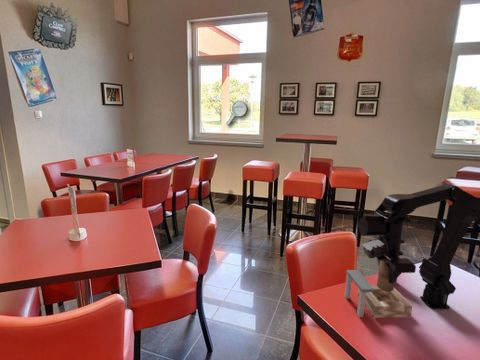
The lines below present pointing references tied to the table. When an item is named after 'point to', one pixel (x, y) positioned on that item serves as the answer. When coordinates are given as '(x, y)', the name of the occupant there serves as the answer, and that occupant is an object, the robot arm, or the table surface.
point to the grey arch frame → (361, 284)
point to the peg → (384, 276)
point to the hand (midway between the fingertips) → (386, 278)
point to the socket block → (387, 303)
